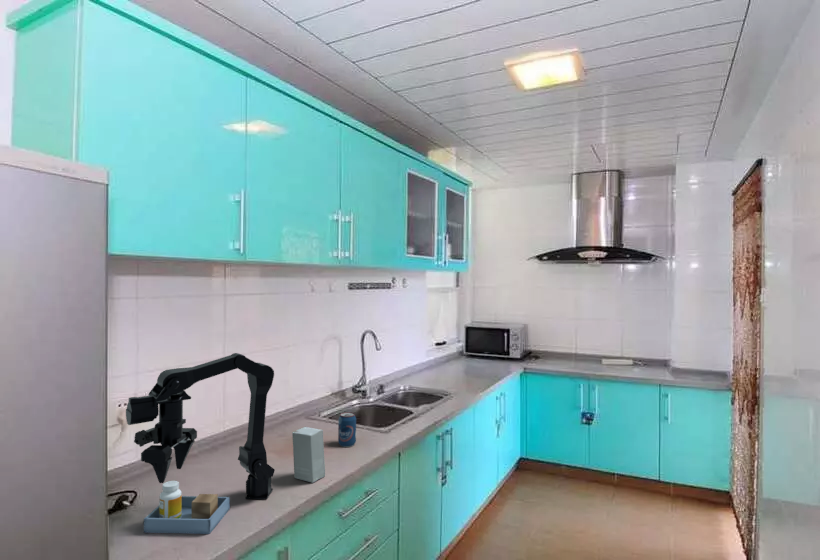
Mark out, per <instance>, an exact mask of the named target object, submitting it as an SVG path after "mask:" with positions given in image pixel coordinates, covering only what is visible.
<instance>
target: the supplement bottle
mask: <svg viewBox="0 0 820 560" xmlns="http://www.w3.org/2000/svg"><path fill="white" fill-rule="evenodd" d="M182 496H183V495H182V490H181V489H180V482H179V481H177V480H169V481H166V482H165V481H164V483H162V491H161V492H160V493H159V501H158V502H159V505H158V506H159V518H181V516H182Z"/></svg>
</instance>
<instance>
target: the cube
mask: <svg viewBox="0 0 820 560" xmlns="http://www.w3.org/2000/svg"><path fill="white" fill-rule="evenodd" d="M218 497H219V495H218V493H217V494H215V493H199V494H198V495H197V497H196V498H195V499H194V500H193V501H192V519H209V518H210V517H211V516H212V515H213V513H214V512H215V511H216V510H217V509H218Z"/></svg>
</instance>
